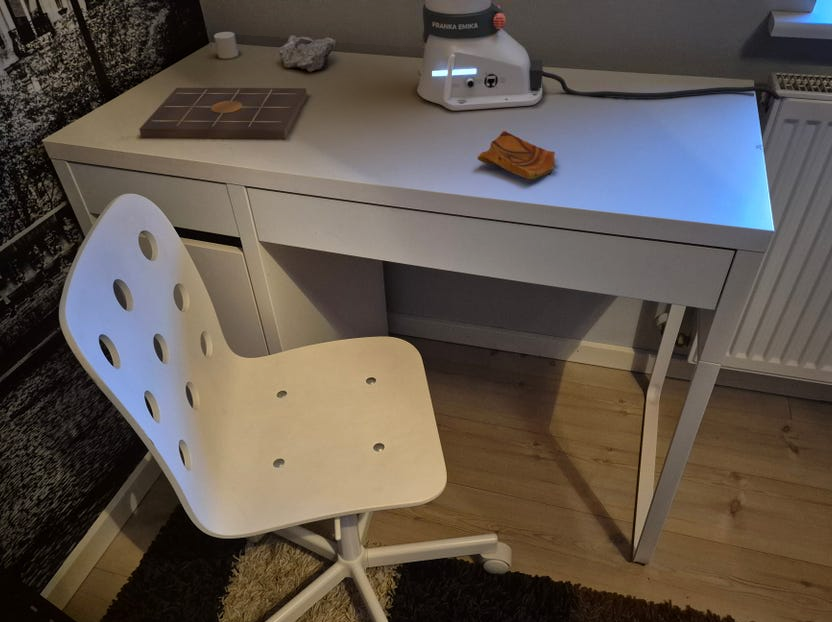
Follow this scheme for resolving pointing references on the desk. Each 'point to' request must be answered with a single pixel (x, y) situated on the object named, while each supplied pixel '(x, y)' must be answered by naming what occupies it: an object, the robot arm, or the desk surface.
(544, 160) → the pottery fragment
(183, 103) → the board
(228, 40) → the white plastic cylinder
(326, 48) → the mineral specimen
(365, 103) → the desk surface
